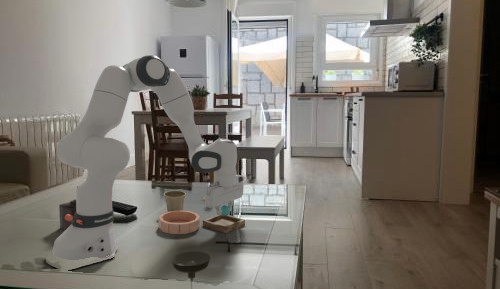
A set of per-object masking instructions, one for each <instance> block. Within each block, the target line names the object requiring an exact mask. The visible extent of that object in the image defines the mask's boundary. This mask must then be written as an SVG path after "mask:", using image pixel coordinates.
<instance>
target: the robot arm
mask: <svg viewBox="0 0 500 289" xmlns="http://www.w3.org/2000/svg"><path fill="white" fill-rule="evenodd" d="M147 90H152V91H153V92H154V93H155V94H156V96H157V98H158V100H159V103H160V104H161V107H162V109H163V110H164V112H165V114H166V115H167V116H168V118H169V119H170V120H171V121H172V122H173V123H174V124H176V125H177V126H178V128H179V130H180V132H181V134H182V136H183V138H184V140H185V142H186V144H187V148H188V149H187V152H188V153H187V155H188V160H189V162H190V164H191V166H192V168H193V170H194V171H195V172H196V173H198V174H199V173H200V174H207V173H208V174H209V172H214V179H213V183H212V184H210V183H209V185H208V187H207V189H206V191H205V195H206V196H205V195H204V197H205V201H204V205H205V207H207V208H210V209H215V210H216V215H219V216H220V215H222V212H223V211H222V210H221V209H220V207H221V206H223V205H225V204H226V206H227V207H228V208H229V210H230V212H232V209H233V208H232V207H233V205H234V202H235V200H238V199H241V198H242V197H243V195H244V181H245V176H244V175H240V174H237V168H236V167H237V162H238V150H237V144H236V143H235V142H234V141H233V140H231V139H228V138H217V139H216V140H214V141H213V142H211V143H210V144H208V143H206V141H204V139H203V138H202V136H201V134H200V131H199V129H198V127H197V125H196V123H195V117H194V114H195V108H194V103H193V101H192V100H193V99H192V98H191V94H190V92H189V90H188V88H187V86H186V84H185V82H184V81H183V79H182V77H181V76H180V75H179V73H178V71H176V70H175V69H173V68H170V67H168V66H167V64H166V63H165V62H164V60H162V59H161V58H160V57H158V56H157V55H150V54H149V55H144V56H142V57H139V58H135V59H133V60H131V61H130V62H128V63H126V64H124V65H123V66H120V65H114V64H113V65H107V66H106V67H105V68H103V70H102V72H101V73H100V75H99V77H98V80H97V82H96V84H95V86H94V89H93V92H92V96H91V98H90V100H89V101H90V102H89V104H88V107H87V109H86V112H85V114H84V116H83V117H82V118H81V121H80V122H79V123H78V124H77V126H76V127H75V128H74V129H73V130H72V131H71V132H70V133H68V134H67V135H64V136H63V137H61V138H60V140H58V143H57V145H56V152H55V153H56V156H57V158H58V160H59V161H60V162H61V163H63V164H64V165H67V166H69V167H72V168H76V169H81V170H82V169H84V170H87V176H86V179H85V180H84V181H83V182H81V183H80V184H79V185H78V187H76V190H75V199H76V212H75V214H74V217H73V216H72V215H70V214H67V215H66V216H65V219H66V220H68V221H72V224H71V225H70V226H69V227H68V228H67V229H66V230H63V232H62V233H61V234H60V235H59V236H58V237H57V238H55V240H54V243H53V246H52V247H53V248H52V253H53V255H55V256H58V257H60V258H63V259H67V260H79V259H85V258H90V257H98V258H108V257H113V256H115V257H116V253H115V251H116V250H117V249H118V250H119V246H118V245H117V241H116V236H115V231H114V220H115V216H114V208H113V187H114V184H115V180H116V179H117V176H118V175H119V173H121V172H122V171H123V170H125V169H126V167H128V164H129V162H130V157H131V152H130V148H129V147H128V145H127V144H126V142H125V143H124V142H123V141H120V140H118V139H115V138H113V137H106V135H107V134H108V133H109V132H110V131H112V130H113V129H115V128H117V127H118V126H119V125H120V124H121V122H122V119H123V117H124V112H125V110H126V106H127V103H128V100H129V95H130V93H131V92H132V93H138V92H141V91H147ZM118 250H117V251H118ZM108 255H109V256H108ZM106 256H108V257H106Z"/></svg>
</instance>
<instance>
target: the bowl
mask: <svg viewBox="0 0 500 289" xmlns="http://www.w3.org/2000/svg"><path fill="white" fill-rule="evenodd" d="M200 220H201V216H200V215H199V214H198V213H196V212H194V211H191V210H182V211H181V210H180V211H179V210H178V211H170V212H164V213H162V214H160V215H159V217H158V228H159V231H161V232H163V233H166V234H169V235H187V234H191V233H194V232H196V231H197V230H199V229H200V226H201V225H200V224H201V221H200Z"/></svg>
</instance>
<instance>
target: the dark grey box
mask: <svg viewBox="0 0 500 289" xmlns="http://www.w3.org/2000/svg"><path fill="white" fill-rule="evenodd" d="M78 186H79V185H78ZM78 186H77V187H78ZM77 187H76V188H77ZM58 209H59V229H61V230H62V231H65V230H66V229H67V228H68V227H69V226H70V225H71V224H72V221H68V220H66V219H65V216H66V215H67V214H70V215H72V216H73V217H74V214H75V212H76V198H75V199H73V200H70V201H69V202H65V203H61V204H59V208H58Z"/></svg>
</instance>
